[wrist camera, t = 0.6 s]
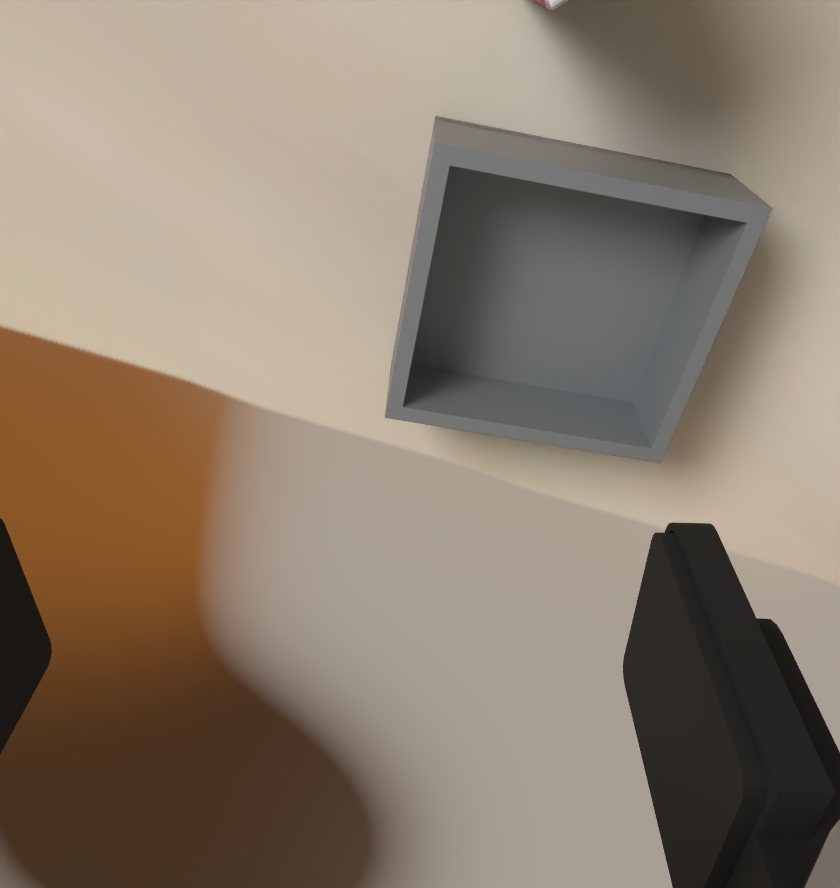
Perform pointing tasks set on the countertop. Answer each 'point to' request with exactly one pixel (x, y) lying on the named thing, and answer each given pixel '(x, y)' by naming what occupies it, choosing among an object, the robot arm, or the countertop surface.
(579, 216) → the crate
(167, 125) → the countertop surface
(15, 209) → the countertop surface
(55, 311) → the countertop surface
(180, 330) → the countertop surface
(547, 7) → the small box
